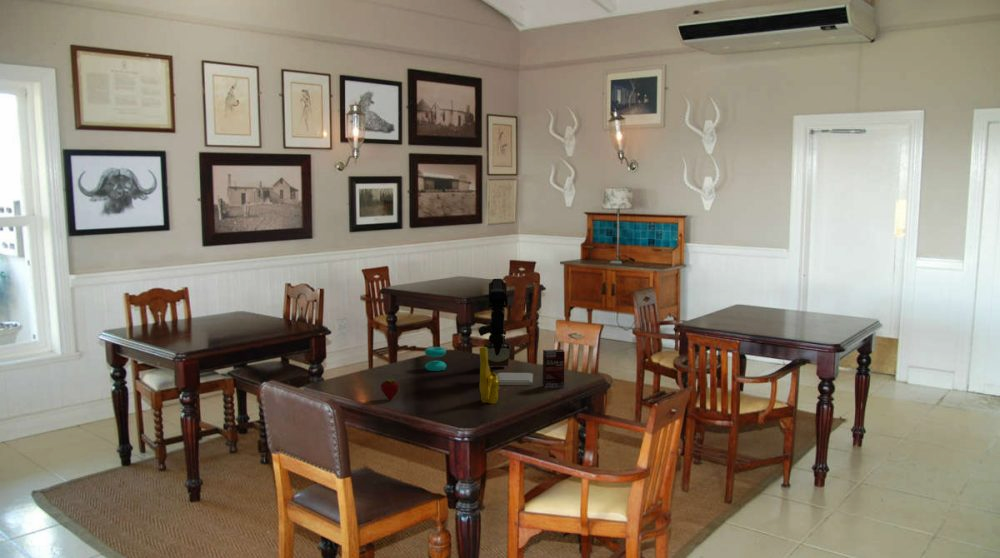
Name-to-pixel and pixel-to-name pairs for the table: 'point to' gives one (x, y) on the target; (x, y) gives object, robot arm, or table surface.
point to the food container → (502, 358)
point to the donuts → (435, 353)
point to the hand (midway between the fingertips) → (497, 354)
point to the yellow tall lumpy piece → (487, 379)
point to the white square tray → (515, 378)
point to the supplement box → (553, 368)
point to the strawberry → (390, 388)
